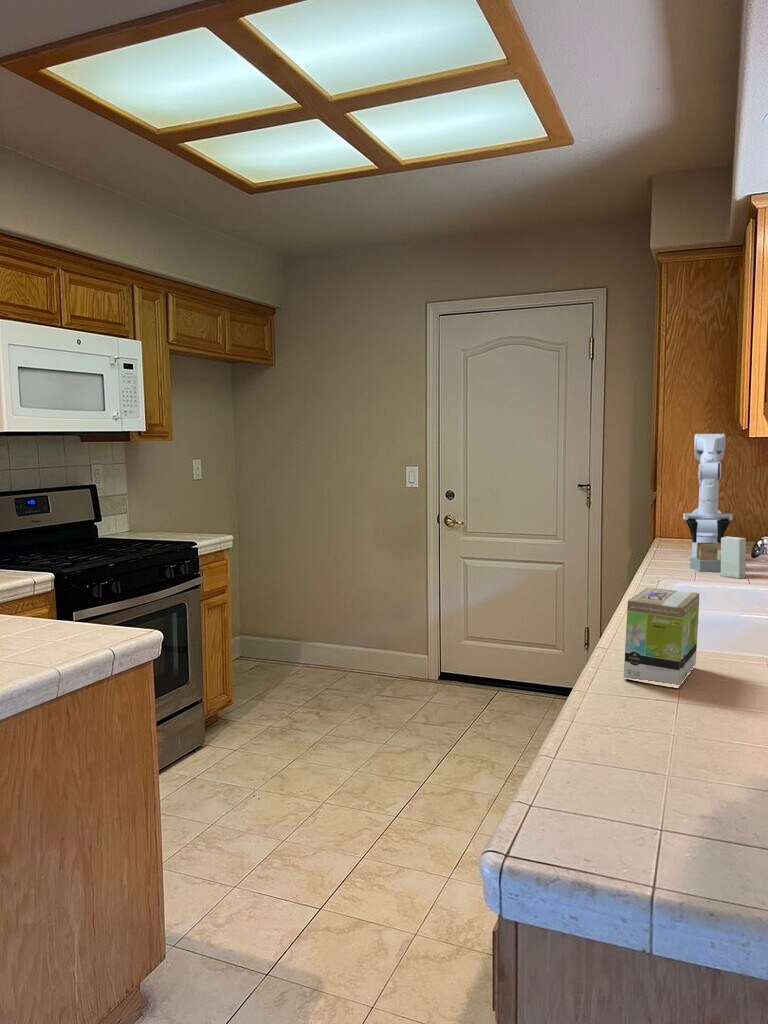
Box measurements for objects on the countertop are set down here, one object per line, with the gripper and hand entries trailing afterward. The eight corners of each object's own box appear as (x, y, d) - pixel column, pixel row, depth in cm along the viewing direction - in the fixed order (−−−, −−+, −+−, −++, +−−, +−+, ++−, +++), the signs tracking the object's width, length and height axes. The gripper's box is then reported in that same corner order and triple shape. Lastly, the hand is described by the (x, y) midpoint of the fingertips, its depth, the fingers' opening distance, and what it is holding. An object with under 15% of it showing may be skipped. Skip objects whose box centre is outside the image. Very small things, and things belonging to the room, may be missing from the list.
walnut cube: (696, 557, 245) (697, 542, 244) (712, 558, 244) (713, 542, 244) (700, 560, 240) (701, 544, 239) (717, 560, 239) (717, 545, 239)
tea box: (681, 691, 130) (684, 606, 128) (622, 681, 135) (624, 599, 133) (697, 668, 142) (700, 590, 141) (642, 659, 148) (644, 585, 146)
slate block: (690, 569, 246) (690, 557, 245) (711, 569, 246) (711, 557, 246) (699, 573, 239) (700, 561, 238) (721, 573, 239) (722, 560, 239)
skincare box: (745, 577, 231) (747, 537, 230) (738, 578, 228) (740, 539, 227) (726, 574, 236) (727, 535, 235) (719, 576, 233) (720, 537, 232)
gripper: (688, 501, 237) (686, 543, 239) (736, 501, 235) (734, 544, 237) (682, 499, 244) (680, 540, 245) (729, 499, 242) (727, 541, 244)
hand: (706, 542), depth 242 cm, fingers open, 7 cm apart
